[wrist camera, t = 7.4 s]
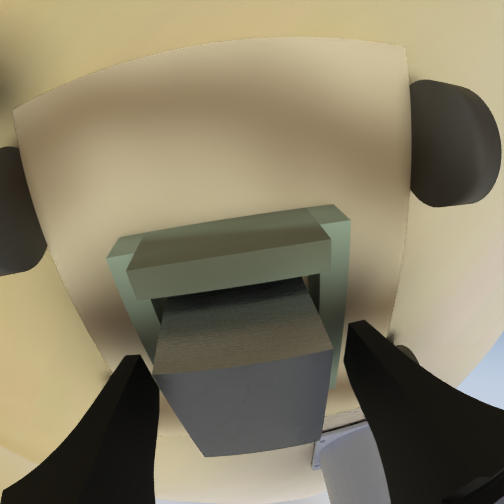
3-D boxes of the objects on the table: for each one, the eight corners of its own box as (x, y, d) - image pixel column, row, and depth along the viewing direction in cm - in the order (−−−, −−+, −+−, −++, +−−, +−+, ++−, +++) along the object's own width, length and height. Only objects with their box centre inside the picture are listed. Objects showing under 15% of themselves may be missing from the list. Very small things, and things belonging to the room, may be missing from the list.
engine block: (292, 344, 13) (320, 440, 8) (204, 357, 13) (204, 457, 8) (287, 245, 10) (333, 348, 6) (174, 262, 10) (151, 374, 6)
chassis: (380, 385, 18) (403, 434, 14) (141, 422, 17) (135, 475, 13) (419, 56, 8) (497, 51, 4) (4, 121, 8) (-70, 142, 4)
